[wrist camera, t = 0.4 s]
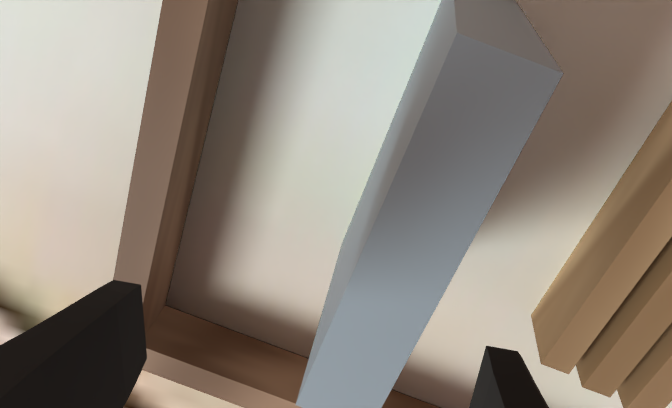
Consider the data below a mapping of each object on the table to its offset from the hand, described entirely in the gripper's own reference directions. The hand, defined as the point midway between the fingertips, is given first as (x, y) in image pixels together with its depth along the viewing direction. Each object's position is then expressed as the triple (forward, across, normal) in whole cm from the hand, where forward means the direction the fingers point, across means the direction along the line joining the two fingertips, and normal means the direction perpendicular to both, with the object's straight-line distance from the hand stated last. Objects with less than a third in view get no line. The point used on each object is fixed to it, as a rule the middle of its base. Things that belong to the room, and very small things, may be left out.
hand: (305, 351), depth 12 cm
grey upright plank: (+10, -2, -1) cm, 10 cm away
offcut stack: (+10, -10, +1) cm, 14 cm away
